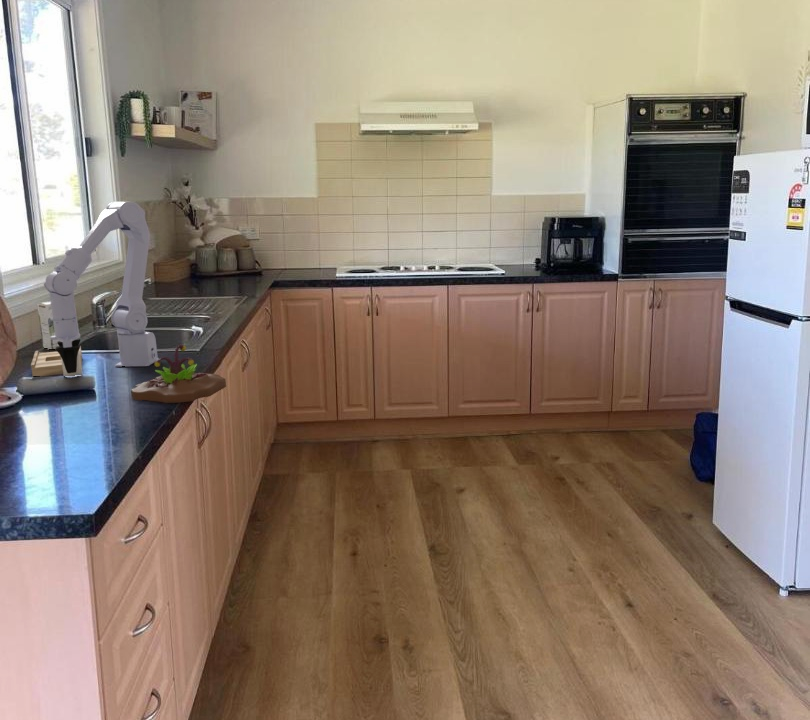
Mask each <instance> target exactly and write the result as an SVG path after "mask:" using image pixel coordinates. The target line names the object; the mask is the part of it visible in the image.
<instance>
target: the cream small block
mask: <svg viewBox="0 0 810 720" xmlns="http://www.w3.org/2000/svg"><path fill="white" fill-rule="evenodd" d="M61 361H62V368H63V374H62V375H63V377H64V376H75V375H83V376H84V373H83V365H82V366H81V358H80V353H79V352H78V355H77V370H76V372H75V373H67V371H66V369H65V366H64V363H63V360H62V358H61Z"/></svg>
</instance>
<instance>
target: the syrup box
mask: <svg viewBox="0 0 810 720" xmlns="http://www.w3.org/2000/svg"><path fill="white" fill-rule="evenodd" d="M36 307H37V315H38V321H39V329H40V334H41V335H40V336H41V337H40V338H41V342H42V348H43V347H44V348H48V349H47V350H49V349H55V350H56V347H58V346H59V345H58V343H57V342H58V341H57V340H51V338H50V337H51V336H55V330H54V323H53V316H52V309H51V300H49V301H44V302H37V304H36ZM44 348H43V349H44Z"/></svg>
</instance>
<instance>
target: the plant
mask: <svg viewBox="0 0 810 720" xmlns="http://www.w3.org/2000/svg"><path fill="white" fill-rule="evenodd" d="M186 349H187V346H186V345H184V344H178V345H177V346H176V348H175V351H174V357H173V359H174V360H173V361H172V359H170V358H169V357H167V356H162V357H160V358H159V360H157V361H156V362H154V367H156V368H159V367H160V366H161V362H162V361H163V360H165V361H166V362H167V363H168V366H169V368H167V367H165V366H163V367H162V370H163V371H162V370H159V369H154V371H155V372H156V373H157V374H159V376H156V377H153V379H149V380H148V381H147V380H146V381H143V382H141V383H138V384H136V385H135V387H133V388H131V389H130V395H131V396H130V397H131V398H132V399H133V400H135V399H136V400H135V401H142V400H148V401H149V402H158V403H165V404H175V403H177V404H179V403H185V402H194V401H196V400H198V399H201V398H202V399H203V398H208V397H211V396H213V395H214V394H215V395H216V393H218V392H219V391H221V390H223V389H225V388H226V387H227V381H226V380H227V379H226V378H225V377H223V376H221V375H220V374H216V373H205V372H198V373H197V372H195V371H197V369H196V368H197V366H198V364H197V363H195V361H194V359H192V358H191V357H184V358H182V359H179V350H180V351H181V352H185V351H186ZM185 361H187V364H188V366H189V367H187V368H186V366H185V364H184V363H185ZM148 401H147V402H148Z"/></svg>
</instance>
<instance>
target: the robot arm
mask: <svg viewBox="0 0 810 720" xmlns="http://www.w3.org/2000/svg"><path fill="white" fill-rule="evenodd" d="M147 223H148V222H147V220H146V211H145V210H144V209H143V208H142V207H141V206H140V204H138V203H137V202H135V201H133V200H128V201H116V200H115V201H112V202H110V203H108V204H107V206H106V208H105V209H103V210H102V211H101V212H100V214H99V216H98V218H97V220H96V221H95V222H94V224H93V225H92V227H91V229H90V230H89V232H87V235H86V236H85V237H84V239H83V240H82V242H81V243H80V245H79V246H74V247H71V249H66V250H65V252H64V254H65V256H64V258H63V259H62V260H61V261H60V263H59V264H58V265H55V266H54V268H53V269H54V271H52V272H50V273H48V274H47V276H46V277H45V282H44V283H43V286H44V288H45V291H47V292H48V293H49V299H50V300H49V301H51V309H52V316H53V323H54V330H55V336H51V337H50V338H51V340H57V341H58V342H57V343H58V345H59V346H58V347H56V349H55V350H56V352H58V353H59V354H60V356H61V358H62V360H63V363H64V366H65V369H66V371H67V373H75V372H76V370H77V355H78V351H79V349H80V346H81V345H80V342H81V333H80V330H79V323H78V315H77V310H76V309H77V308H76V307H77V306H76V300H75V293H74V291H76V290H77V286H78V283H77V281H79V279H80V278H81V276H82V275H83V274H84V272H85V271H86V270H87V268H88V267H89V266H90V264H91V263H92V261H93V260H92V253H93V252H95V250H96V248H98V246H100V244H101V243H102V242H103V241H104V239H106V237H107V235H108V234H109V233H110V232H113V231H115V230H121V232H122V233H123V234H124V235H125V236H126V237H127V239H128V243H127V251H126V257H125V258H126V259H125V265H124V272H123V281H122V289H121V296H120V297H119V299H117V301H116V305H115V308H114V310H113V311H112V313H111V318H110V319H111V323H112V325H113V326H114V327H115V328H116V335H117V342H118V350H119V351H118V352H119V359H120V361H119V362H118V363H116V364H114V367H116V368H117V367H122V366H125V367H149V366H151V365H152V364H155V362H156V361H157V360H159V359H160V358H159V357H158V356H159V355H158V350H157V349H158V348H157V339H156V336H155V334H154V332H150V331H145V329H146V327H147V325H148V322H149V321H148V315H147V312H146V311H147V305H146V304H145V302H144V299H143V296H144V288H145V287H144V286H145V278H146V270H147V264H148V263H147V262H148V256H149V247H150V241H151V240H150V239H151V232H150V229H149V225H148V224H147Z"/></svg>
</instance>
